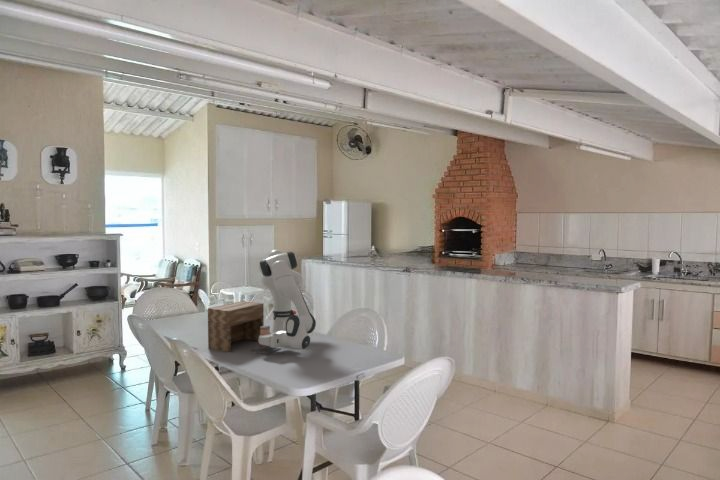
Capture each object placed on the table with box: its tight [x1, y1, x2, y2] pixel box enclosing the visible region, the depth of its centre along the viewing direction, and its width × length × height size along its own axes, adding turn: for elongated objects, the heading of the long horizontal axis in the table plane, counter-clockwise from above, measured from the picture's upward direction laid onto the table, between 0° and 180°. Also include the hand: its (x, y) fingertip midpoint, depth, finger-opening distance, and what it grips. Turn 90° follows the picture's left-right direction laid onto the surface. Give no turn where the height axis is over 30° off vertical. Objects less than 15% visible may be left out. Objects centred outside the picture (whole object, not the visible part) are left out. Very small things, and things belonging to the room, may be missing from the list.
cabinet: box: [207, 300, 265, 353], centre depth 296 cm, size 16×28×22 cm, turn 149°
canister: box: [260, 325, 271, 348], centre depth 285 cm, size 5×5×11 cm
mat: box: [249, 346, 282, 355], centre depth 286 cm, size 12×12×1 cm
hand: (263, 335), depth 286 cm, fingers closed on canister, 5 cm apart
